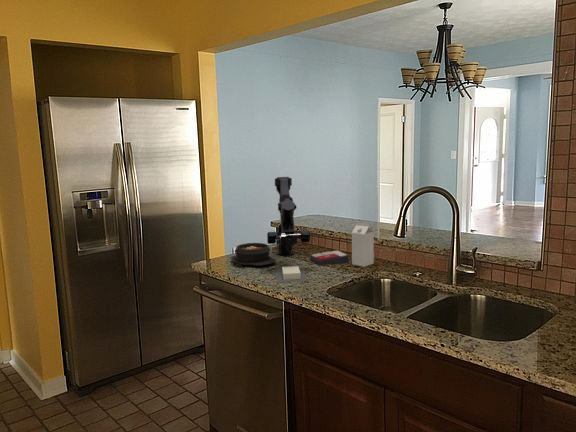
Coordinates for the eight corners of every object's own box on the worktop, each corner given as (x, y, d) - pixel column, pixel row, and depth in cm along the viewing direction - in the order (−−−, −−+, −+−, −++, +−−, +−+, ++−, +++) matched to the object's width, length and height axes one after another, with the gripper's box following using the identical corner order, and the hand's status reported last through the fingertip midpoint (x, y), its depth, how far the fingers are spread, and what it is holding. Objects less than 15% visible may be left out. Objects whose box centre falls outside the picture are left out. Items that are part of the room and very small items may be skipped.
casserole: (285, 263, 224) (284, 246, 223) (254, 272, 212) (253, 253, 210) (251, 255, 242) (251, 239, 241) (221, 262, 230) (220, 245, 228)
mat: (275, 269, 214) (275, 269, 214) (302, 268, 214) (302, 267, 214) (277, 282, 194) (277, 281, 194) (307, 281, 195) (307, 280, 195)
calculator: (309, 254, 228) (337, 249, 233) (310, 262, 229) (338, 257, 234) (319, 259, 218) (348, 253, 223) (320, 268, 219) (349, 262, 224)
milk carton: (361, 261, 225) (361, 221, 222) (373, 264, 219) (373, 223, 217) (351, 264, 220) (351, 223, 217) (364, 267, 215) (364, 225, 212)
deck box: (282, 266, 207) (283, 273, 196) (298, 266, 207) (300, 273, 197) (282, 272, 207) (283, 279, 197) (298, 272, 208) (300, 279, 197)
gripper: (307, 233, 222) (310, 262, 212) (266, 234, 221) (268, 264, 211) (308, 219, 213) (312, 248, 203) (266, 220, 212) (268, 250, 202)
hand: (289, 253), depth 205 cm, fingers closed
